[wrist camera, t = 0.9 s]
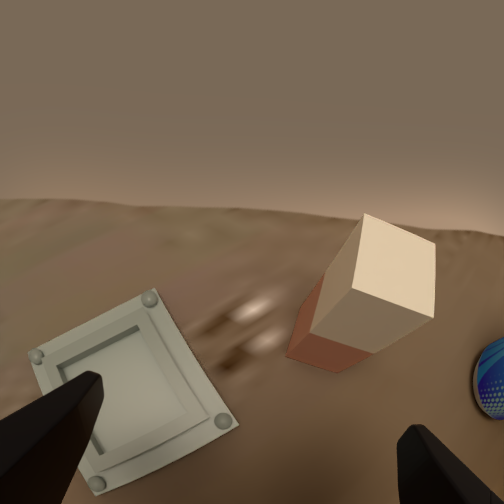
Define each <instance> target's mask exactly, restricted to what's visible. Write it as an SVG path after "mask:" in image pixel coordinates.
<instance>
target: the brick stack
mask: <svg viewBox="0 0 504 504" xmlns="http://www.w3.org/2000/svg"><path fill="white" fill-rule="evenodd" d="M434 301H435V244H434V243H432V242H430V241H427V240H425V239H423V238H421V237H419V236H416V235H414V234H412V233H410V232H407V231H405V230H403V229H401V228H398V227H396V226H394V225H391V224H389V223H387V222H384V221H382V220H380V219H377V218H375V217H372V216H370V215H368V214H365V213H364V214H363V216H362V218H361V219H360V221H359V222H358V224H357V225H356V227H355V228H354V230H353V232H352V233H351V235H350V236H349V238H348V239H347V241H346V242H345V244H344V245H343V247H342V248H341V250H340V251H339V253H338V254H337V256H336V257H335V259H334V260H333V262H332V263H331V264H330V266H329V267H328V269H327V270H326V272H325V273H324V275H323V276H322V278H321V279H320V280H319V282H318V283H317V285H316V286H315V288H314V289H313V290H312V292H311V293H310V295H309V296H308V297H307V299H306V300H305V302H304V303H303V304H302V306H301V307H300V311H299V314H298V317H297V320H296V324H295V327H294V330H293V333H292V337H291V340H290V343H289V346H288V349H287V352H286V356H285V357H288V358H291V359H294V360H297V361H300V362H303V363H306V364H309V365H312V366H315V367H319V368H322V369H325V370H328V371H331V372H335V373H338V372H340V371H342V370H344V369H346V368H348V367H350V366H352V365H354V364H356V363H358V362H360V361H362V360H363V359H365V358H367V357H369V356H371V355H373V354H374V353H376V352H378V351H380V350H382V349H383V348H385V347H387V346H389V345H390V344H392V343H394V342H396V341H397V340H399V339H401V338H402V337H404V336H406V335H407V334H409V333H411V332H412V331H414V330H415V329H417V328H419V327H420V326H422V325H423V324H425V323H427V322H428V321H430V320H431V319H433V318H434Z"/></svg>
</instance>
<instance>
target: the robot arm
mask: <svg viewBox="0 0 504 504" xmlns="http://www.w3.org/2000/svg"><path fill="white" fill-rule="evenodd" d="M103 400H104V387H103V380H102V376H101V375H100V374H99V373H96V372H93V371H90V370H88V371H85V372H83V373H81V374H80V375H78V376H76V377H75V378H73V379H71V380H70V381H68V382H66V383H64V384H63V385H61V386H59V387H58V388H56V389H54V390H52V391H51V392H49V393H47V394H45V395H44V396H42V397H40V398H39V399H37V400H35V401H33V402H32V403H30V404H28V405H26V406H25V407H23V408H21V409H19V410H18V411H16V412H14V413H12V414H11V415H9V416H7V417H5V418H4V419H2V420H0V504H61V503H62V500H63V498H64V496H65V494H66V491H67V489H68V487H69V485H70V482H71V480H72V478H73V476H74V474H75V472H76V469H77V467H78V465H79V463H80V461H81V459H82V457H83V455H84V452H85V450H86V448H87V446H88V444H89V441H90V438H91V435H92V432H93V429H94V426H95V423H96V420H97V417H98V415H99V412H100V409H101V406H102V403H103ZM397 467H398V491H399V500H400V504H504V502H503V501H502V500H501V499H500V498H499V497H498V496H497V495H496V494H495V493H494V492H493V491H490V489H489V488H488V487H487V486H486V485H485V484H484V483H483V482H482V481H481V480H480V479H479V478H478V477H477V476H476V475H475V474H474V473H473V472H472V471H471V470H470V469H469V468H468V467H467V466H466V465H465V464H463V463H462V462H461V461H460V460H459V459H458V458H457V457H456V456H455V455H454V454H453V453H452V452H451V451H450V450H449V449H448V448H447V447H446V446H445V445H444V444H443V443H442V442H441V441H440V440H439V439H438V438H437V437H436V436H435V435H434V434H433V433H432V432H430V431H429V430H428V429H427V428H426V427H425V426H424V425H422V424H413V425H411V426H409V428H408V429H407V430H406V431H405V433H404V434H403V435H402V436H401V438H400V439H399V440H398V443H397Z"/></svg>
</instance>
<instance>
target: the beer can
mask: <svg viewBox="0 0 504 504" xmlns="http://www.w3.org/2000/svg"><path fill="white" fill-rule="evenodd" d="M473 389H474V395H475V398H476V401H477V403H478V405H479V407H480V408H481V409H482V410H483V411H484V412H485V413H487V414H488V415H489V416H491V417H492V418H494V419H497V420H503V419H504V337H503V338H501V339H499V340H497V341H495V342H493V343H491V344H490V345H488V346H487V347H486V348H485V350H484V351H483V353H482V355H481V357H480V359H479V361H478V362H477V365H476V367H475V371H474V376H473Z"/></svg>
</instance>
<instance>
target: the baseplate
mask: <svg viewBox="0 0 504 504" xmlns="http://www.w3.org/2000/svg"><path fill="white" fill-rule="evenodd" d="M28 355H29V360H30V361H31V364H32V367H33V370H34V372H35V375H36V378H37V381H38V383H39V386H40V388H41V391H42V393H43V396H44V395H45V394H47V393H49V392H51V391H52V390H54V389H56V388H58V387H59V386H61V385H63V384H64V383H66V382H68V381H70V380H71V379H73V378H75V377H76V376H78V375H80V374H81V373H83V372H85V371H88V370H90V371H93V372H96V373H99V374H100V375H101V376H102V380H103V387H104V400H103V403H102V406H101V409H100V412H99V415H98V417H97V420H96V423H95V426H94V429H93V432H92V435H91V438H90V441H89V444H88V446H87V448H86V450H85V452H84V455H83V457H82V459H81V461H80V463H79V465H78V468H79V470H80V472H81V473H82V475H83V477H84V479H85V480H86V482H87V484H88V486H89V488H90V489H91V490H92V492H93V493H94V495H95V496H97V495H100V494H102V493H105V492H107V491H110V490H112V489H115V488H117V487H120V486H122V485H124V484H127V483H129V482H131V481H133V480H136V479H138V478H140V477H142V476H144V475H147V474H149V473H151V472H153V471H155V470H157V469H159V468H161V467H163V466H165V465H167V464H169V463H171V462H173V461H175V460H177V459H179V458H181V457H183V456H185V455H187V454H189V453H191V452H193V451H194V450H196V449H198V448H200V447H202V446H204V445H205V444H207V443H209V442H211V441H213V440H214V439H216V438H218V437H220V436H221V435H223V434H225V433H226V432H228V431H230V430H231V429H233V428H235V427H236V426H238V425H239V424H238V422H237V421H236V419H235V418H234V417H233V415H232V414H231V412H230V411H229V409H228V408H227V406H226V405H225V403H224V402H223V400H222V399H221V397H220V396H219V394H218V393H217V391H216V390H215V388H214V387H213V385H212V384H211V382H210V381H209V379H208V378H207V376H206V374H205V373H204V371H203V370H202V368H201V366H200V365H199V363H198V362H197V360H196V358H195V357H194V355H193V354H192V352H191V350H190V349H189V347H188V345H187V344H186V342H185V340H184V339H183V337H182V335H181V334H180V332H179V330H178V328H177V327H176V325H175V323H174V322H173V320H172V318H171V316H170V315H169V313H168V311H167V309H166V308H165V306H164V304H163V302H162V300H161V299H160V297H159V295H158V293H157V291H156V289H155V288H153V289H151V290H147V291H145V292H144V293H143V294H141V295H139V296H137V297H135V298H133V299H131V300H129V301H127V302H125V303H123V304H121V305H119V306H117V307H115V308H113V309H111V310H109V311H107V312H105V313H103V314H102V315H100V316H98V317H96V318H94V319H92V320H90V321H88V322H86V323H84V324H82V325H80V326H78V327H76V328H74V329H72V330H70V331H68V332H66V333H64V334H62V335H60V336H58V337H56V338H55V339H53V340H51V341H49V342H47V343H45V344H43V345H41V346H39V347H37V348H33V349H31V350H30V351H29V352H28Z"/></svg>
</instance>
